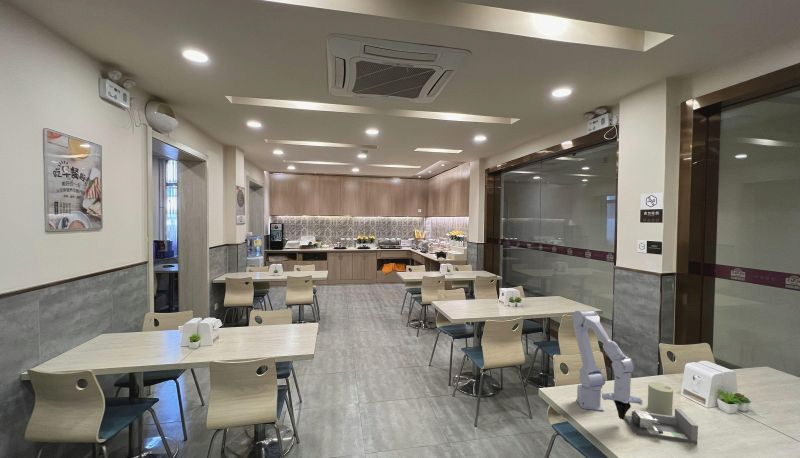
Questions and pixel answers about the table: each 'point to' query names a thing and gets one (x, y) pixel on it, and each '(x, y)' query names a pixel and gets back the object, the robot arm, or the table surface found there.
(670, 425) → the gauge base
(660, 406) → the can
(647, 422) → the white mechanical block
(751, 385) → the table surface
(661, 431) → the peak marker
